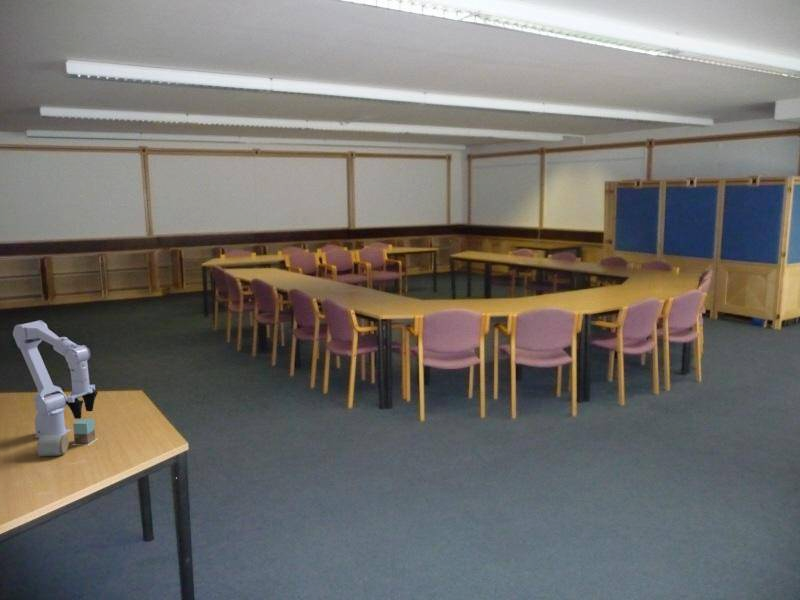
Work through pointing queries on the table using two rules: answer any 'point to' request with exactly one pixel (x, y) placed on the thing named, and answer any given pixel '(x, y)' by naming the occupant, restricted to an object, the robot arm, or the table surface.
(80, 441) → the walnut block
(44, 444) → the ceramic mug
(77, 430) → the teal block
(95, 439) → the mat
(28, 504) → the table surface
